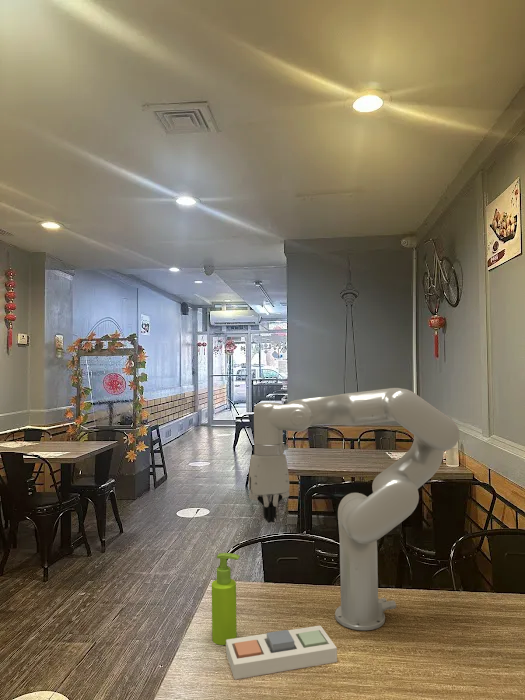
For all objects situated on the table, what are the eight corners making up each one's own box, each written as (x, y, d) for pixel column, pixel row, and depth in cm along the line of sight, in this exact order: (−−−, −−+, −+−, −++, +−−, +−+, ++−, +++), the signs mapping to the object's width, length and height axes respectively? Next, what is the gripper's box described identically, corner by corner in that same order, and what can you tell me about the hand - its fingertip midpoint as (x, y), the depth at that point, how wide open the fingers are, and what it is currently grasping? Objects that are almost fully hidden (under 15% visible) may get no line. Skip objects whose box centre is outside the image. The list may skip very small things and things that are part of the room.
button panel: (320, 638, 119) (320, 625, 119) (337, 661, 109) (336, 647, 109) (226, 653, 113) (225, 639, 113) (234, 679, 103) (234, 664, 104)
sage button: (318, 638, 116) (318, 630, 116) (326, 650, 111) (326, 641, 111) (298, 642, 115) (298, 633, 115) (305, 654, 110) (305, 644, 110)
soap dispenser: (237, 646, 116) (236, 559, 116) (209, 644, 117) (208, 557, 118) (243, 633, 121) (242, 550, 122) (216, 631, 123) (215, 549, 124)
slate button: (287, 638, 114) (287, 629, 114) (294, 650, 109) (294, 641, 110) (266, 641, 113) (266, 632, 113) (272, 653, 108) (272, 644, 108)
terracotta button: (256, 648, 112) (256, 639, 112) (261, 661, 108) (261, 651, 108) (234, 652, 111) (234, 643, 111) (238, 664, 106) (238, 655, 106)
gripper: (291, 446, 135) (292, 514, 135) (237, 449, 132) (238, 519, 131) (300, 450, 128) (301, 522, 127) (243, 454, 124) (244, 528, 124)
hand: (269, 520), depth 129 cm, fingers closed
